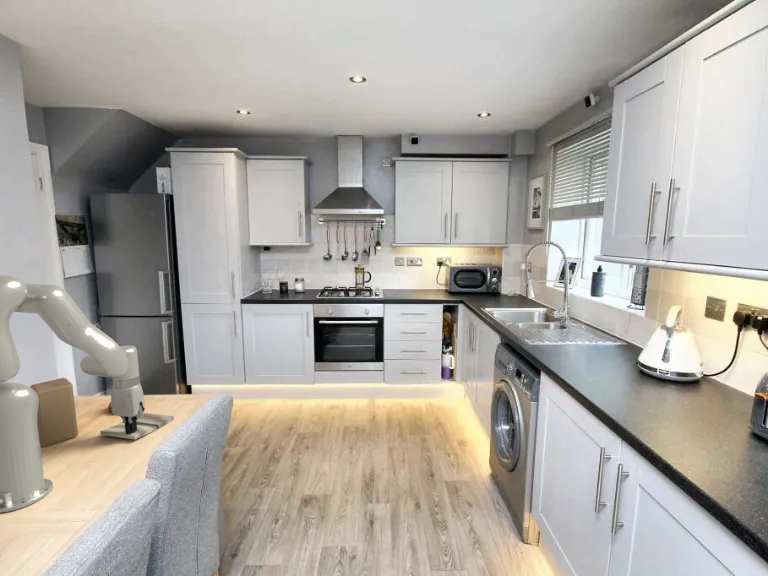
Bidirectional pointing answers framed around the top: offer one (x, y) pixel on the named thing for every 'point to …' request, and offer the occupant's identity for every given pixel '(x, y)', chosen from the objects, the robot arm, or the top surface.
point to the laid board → (155, 420)
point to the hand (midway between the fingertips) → (131, 432)
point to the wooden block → (55, 411)
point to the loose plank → (120, 432)
